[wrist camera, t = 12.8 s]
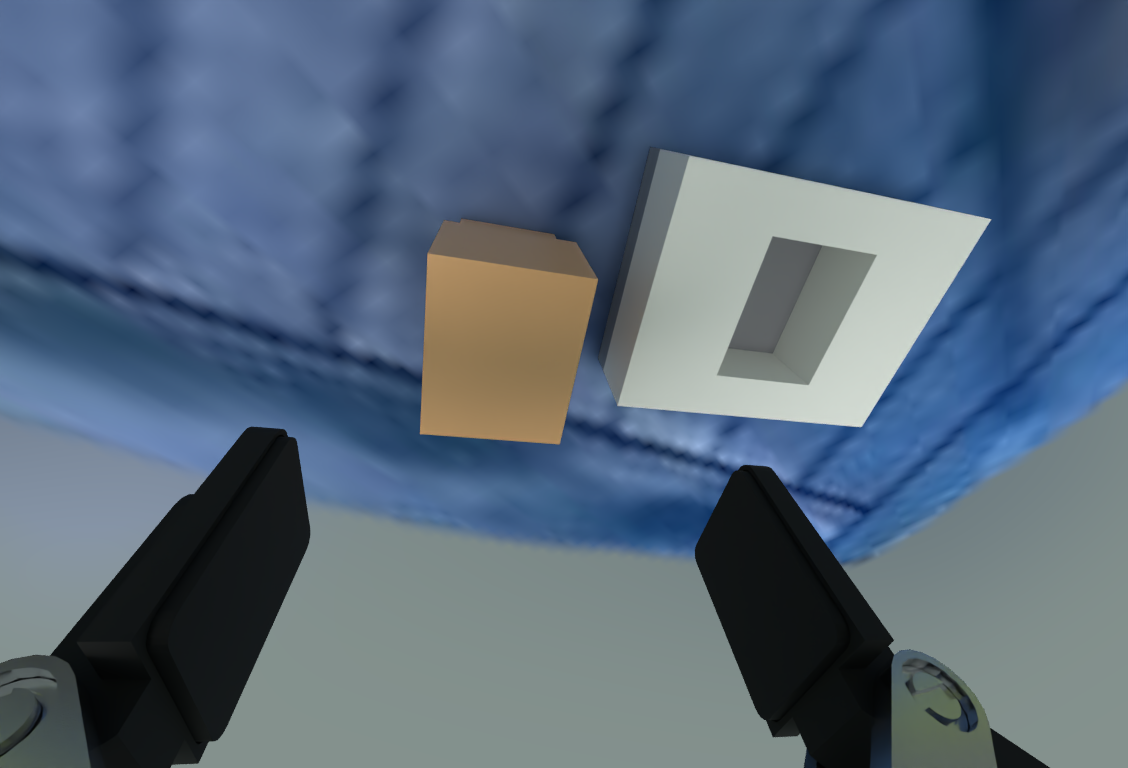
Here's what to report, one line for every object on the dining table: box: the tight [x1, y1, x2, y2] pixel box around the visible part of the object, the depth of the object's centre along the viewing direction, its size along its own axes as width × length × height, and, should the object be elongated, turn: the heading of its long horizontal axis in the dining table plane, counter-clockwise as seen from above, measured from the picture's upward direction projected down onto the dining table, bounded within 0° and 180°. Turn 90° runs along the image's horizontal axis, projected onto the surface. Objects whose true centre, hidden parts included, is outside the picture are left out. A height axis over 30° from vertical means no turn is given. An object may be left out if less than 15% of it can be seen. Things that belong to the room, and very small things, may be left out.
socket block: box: [598, 147, 991, 427], centre depth 23 cm, size 14×11×5 cm
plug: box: [420, 218, 598, 444], centre depth 20 cm, size 6×7×8 cm
